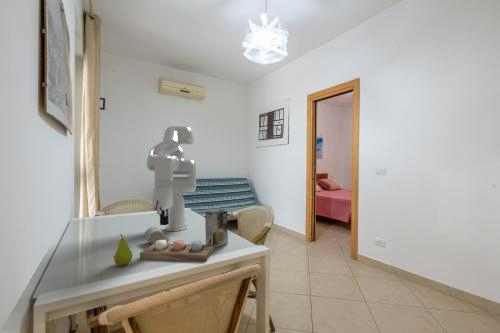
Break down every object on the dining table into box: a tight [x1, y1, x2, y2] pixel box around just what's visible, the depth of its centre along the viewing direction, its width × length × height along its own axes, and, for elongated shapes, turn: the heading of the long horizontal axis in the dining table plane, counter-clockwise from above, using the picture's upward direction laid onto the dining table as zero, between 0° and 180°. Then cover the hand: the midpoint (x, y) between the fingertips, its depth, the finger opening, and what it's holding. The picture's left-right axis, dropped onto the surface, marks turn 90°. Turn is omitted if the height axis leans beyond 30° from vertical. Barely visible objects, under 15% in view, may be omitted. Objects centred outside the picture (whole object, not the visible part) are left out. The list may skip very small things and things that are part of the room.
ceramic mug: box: [144, 226, 170, 245], centre depth 114 cm, size 11×8×8 cm
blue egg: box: [190, 240, 203, 252], centre depth 97 cm, size 4×4×4 cm
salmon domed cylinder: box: [172, 239, 185, 251], centre depth 98 cm, size 4×4×4 cm
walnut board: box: [139, 242, 215, 262], centre depth 98 cm, size 12×28×2 cm, turn 84°
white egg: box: [155, 240, 167, 250], centre depth 99 cm, size 4×4×4 cm
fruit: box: [113, 233, 133, 267], centre depth 88 cm, size 6×6×12 cm
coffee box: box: [204, 209, 229, 249], centre depth 111 cm, size 9×6×16 cm
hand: (164, 224), depth 102 cm, fingers closed
